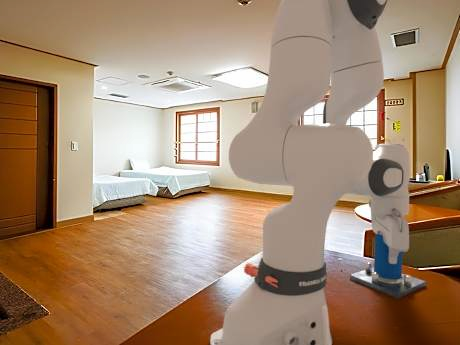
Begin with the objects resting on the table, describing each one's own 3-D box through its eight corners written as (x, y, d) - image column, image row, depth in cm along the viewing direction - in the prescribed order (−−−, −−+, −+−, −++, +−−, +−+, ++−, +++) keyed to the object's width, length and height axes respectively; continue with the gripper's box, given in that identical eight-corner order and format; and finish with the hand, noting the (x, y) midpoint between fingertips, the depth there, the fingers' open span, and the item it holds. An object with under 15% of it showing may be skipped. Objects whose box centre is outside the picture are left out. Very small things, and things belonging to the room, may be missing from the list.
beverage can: (403, 276, 79) (405, 232, 79) (398, 284, 74) (400, 237, 74) (377, 270, 83) (378, 228, 83) (370, 278, 78) (372, 233, 78)
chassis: (397, 298, 70) (398, 283, 70) (349, 279, 81) (350, 266, 81) (425, 285, 77) (426, 272, 77) (377, 269, 88) (378, 257, 88)
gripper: (418, 214, 67) (415, 274, 68) (391, 200, 87) (389, 247, 88) (387, 212, 68) (385, 271, 69) (367, 199, 88) (366, 245, 89)
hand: (387, 257), depth 79 cm, fingers closed on beverage can, 6 cm apart
